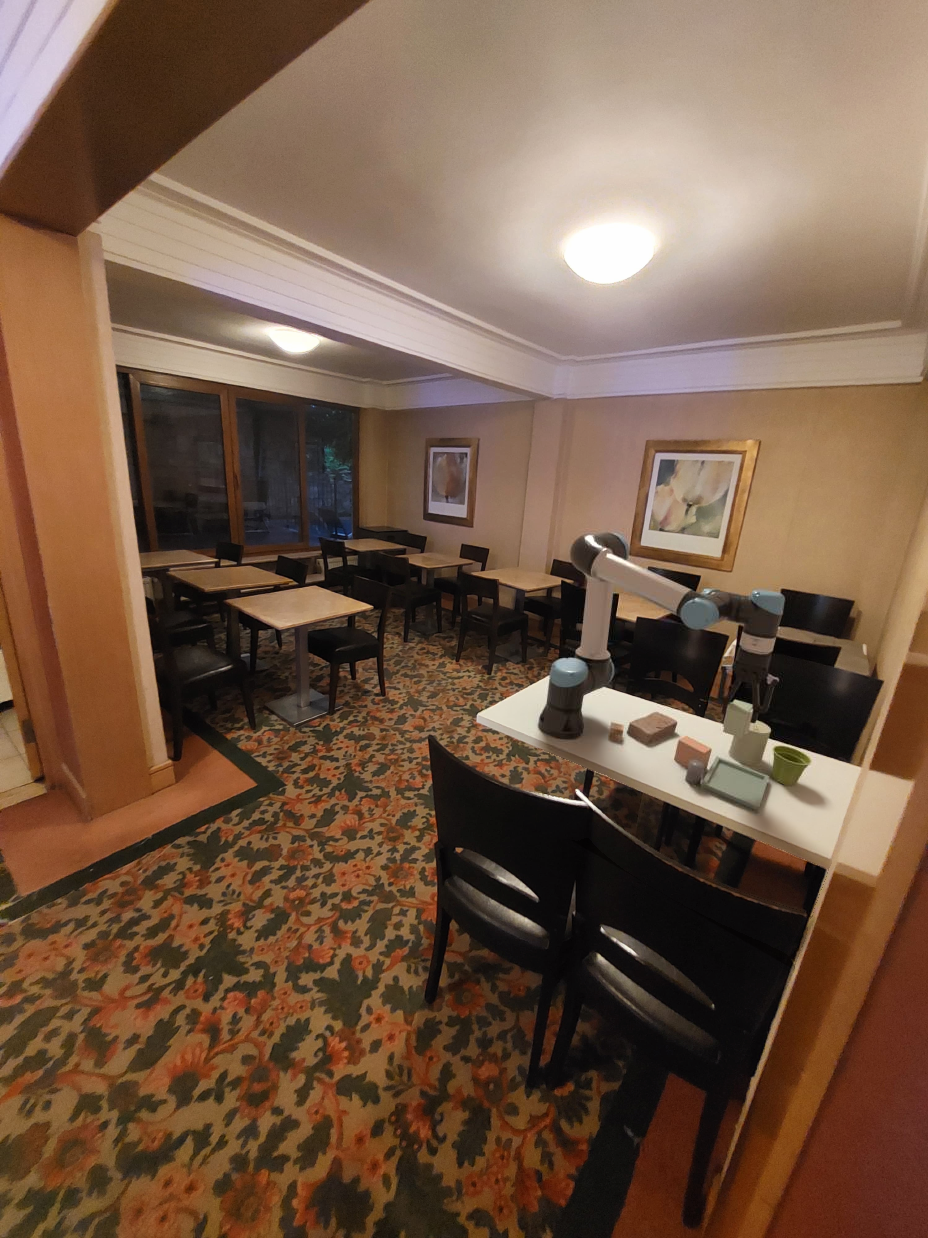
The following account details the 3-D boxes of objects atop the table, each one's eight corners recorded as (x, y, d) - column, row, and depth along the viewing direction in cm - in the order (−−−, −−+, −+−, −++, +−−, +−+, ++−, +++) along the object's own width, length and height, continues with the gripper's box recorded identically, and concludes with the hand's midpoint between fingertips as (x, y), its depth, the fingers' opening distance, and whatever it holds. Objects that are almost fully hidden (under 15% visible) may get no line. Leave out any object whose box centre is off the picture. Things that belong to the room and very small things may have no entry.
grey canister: (683, 781, 133) (687, 763, 131) (687, 775, 136) (691, 758, 134) (698, 788, 130) (703, 770, 128) (701, 781, 133) (706, 763, 131)
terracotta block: (698, 773, 137) (704, 753, 135) (673, 759, 143) (678, 739, 141) (706, 768, 140) (712, 748, 138) (681, 755, 146) (686, 735, 144)
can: (731, 761, 144) (740, 727, 141) (726, 746, 153) (735, 713, 149) (764, 769, 141) (775, 734, 138) (757, 753, 150) (767, 720, 146)
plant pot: (788, 770, 141) (796, 746, 139) (810, 791, 132) (819, 765, 130) (758, 769, 141) (765, 744, 138) (778, 789, 132) (787, 763, 129)
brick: (646, 745, 150) (649, 733, 149) (625, 733, 157) (627, 721, 155) (675, 733, 159) (678, 721, 158) (654, 721, 166) (657, 710, 164)
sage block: (722, 732, 126) (728, 708, 124) (729, 721, 132) (734, 699, 130) (741, 738, 124) (747, 714, 122) (747, 727, 130) (753, 704, 128)
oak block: (608, 738, 152) (610, 727, 151) (609, 732, 156) (611, 722, 155) (621, 741, 151) (623, 730, 150) (621, 735, 155) (623, 725, 154)
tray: (700, 788, 130) (701, 782, 129) (715, 761, 143) (716, 756, 143) (757, 813, 122) (759, 807, 121) (767, 782, 135) (769, 776, 134)
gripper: (715, 644, 124) (698, 721, 131) (793, 662, 113) (770, 746, 120) (721, 638, 129) (705, 713, 136) (797, 655, 119) (774, 735, 125)
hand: (735, 728), depth 128 cm, fingers closed on sage block, 4 cm apart
